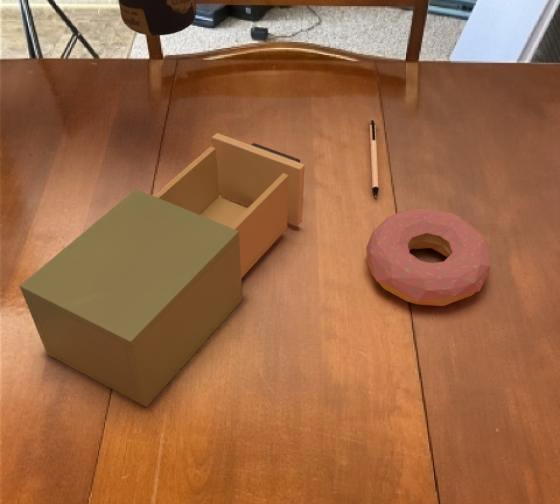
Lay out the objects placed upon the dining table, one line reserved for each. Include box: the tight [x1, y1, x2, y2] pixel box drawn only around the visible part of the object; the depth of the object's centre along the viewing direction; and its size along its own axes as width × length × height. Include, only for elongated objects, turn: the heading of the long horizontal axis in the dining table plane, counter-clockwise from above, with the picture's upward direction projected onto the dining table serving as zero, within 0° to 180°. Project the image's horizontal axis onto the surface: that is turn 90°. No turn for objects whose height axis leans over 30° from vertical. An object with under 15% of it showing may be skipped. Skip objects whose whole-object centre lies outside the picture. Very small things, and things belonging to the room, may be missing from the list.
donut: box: [365, 208, 491, 307], centre depth 84 cm, size 16×15×5 cm
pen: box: [369, 119, 380, 198], centre depth 101 cm, size 1×19×1 cm, turn 177°
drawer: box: [153, 132, 306, 279], centre depth 86 cm, size 22×13×9 cm, turn 149°
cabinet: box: [19, 188, 243, 408], centre depth 76 cm, size 19×14×11 cm
